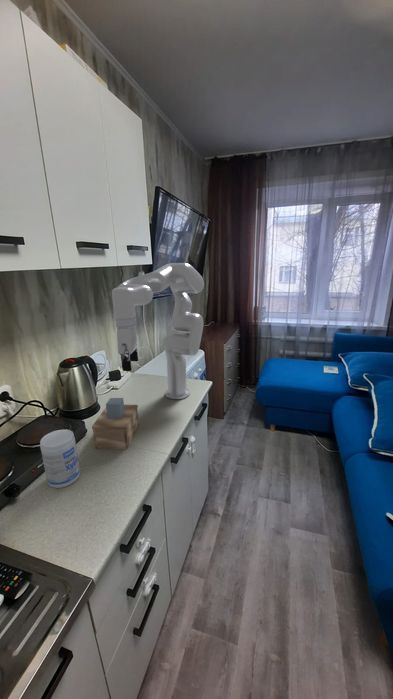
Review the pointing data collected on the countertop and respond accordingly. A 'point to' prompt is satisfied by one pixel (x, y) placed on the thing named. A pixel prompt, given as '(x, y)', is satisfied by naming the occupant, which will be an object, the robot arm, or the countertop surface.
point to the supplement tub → (60, 458)
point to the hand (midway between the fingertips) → (130, 365)
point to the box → (116, 436)
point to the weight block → (115, 408)
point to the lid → (115, 423)
